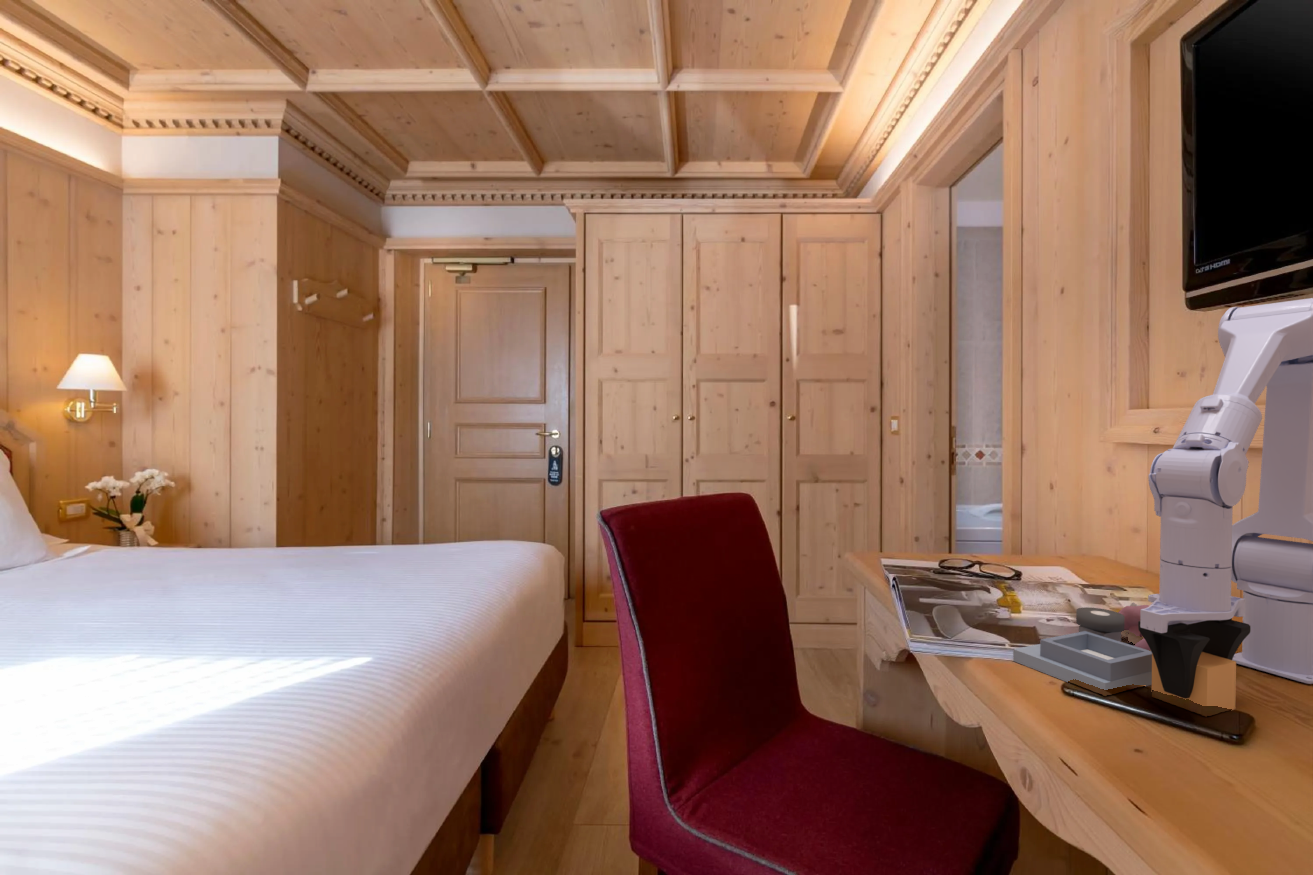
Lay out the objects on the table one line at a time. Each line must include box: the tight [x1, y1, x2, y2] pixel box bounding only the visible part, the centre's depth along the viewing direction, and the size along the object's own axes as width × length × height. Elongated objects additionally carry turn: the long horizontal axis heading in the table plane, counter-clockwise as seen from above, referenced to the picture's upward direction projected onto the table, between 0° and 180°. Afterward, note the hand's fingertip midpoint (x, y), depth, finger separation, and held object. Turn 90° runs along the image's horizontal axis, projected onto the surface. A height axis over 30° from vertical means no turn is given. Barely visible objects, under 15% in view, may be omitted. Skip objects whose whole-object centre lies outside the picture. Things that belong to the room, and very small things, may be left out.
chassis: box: [1012, 625, 1152, 690], centre depth 75 cm, size 14×11×4 cm
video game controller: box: [1118, 602, 1150, 650], centre depth 81 cm, size 10×5×7 cm, turn 169°
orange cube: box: [1151, 652, 1237, 711], centre depth 66 cm, size 5×5×5 cm
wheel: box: [1075, 606, 1125, 632], centre depth 79 cm, size 5×5×4 cm
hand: (1192, 689), depth 66 cm, fingers closed on orange cube, 5 cm apart
